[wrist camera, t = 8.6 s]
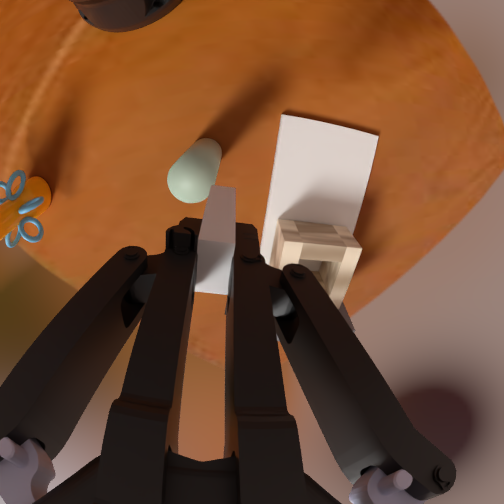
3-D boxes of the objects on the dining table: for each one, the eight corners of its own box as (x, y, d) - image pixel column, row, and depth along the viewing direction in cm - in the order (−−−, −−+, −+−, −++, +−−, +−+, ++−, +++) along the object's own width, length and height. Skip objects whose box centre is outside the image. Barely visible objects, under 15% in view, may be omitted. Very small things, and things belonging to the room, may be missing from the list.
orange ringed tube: (56, 151, 29) (-14, 188, 17) (75, 215, 35) (19, 273, 22) (8, 173, 29) (-52, 212, 17) (26, 228, 35) (-24, 279, 22)
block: (277, 218, 36) (284, 241, 31) (346, 226, 37) (362, 248, 32) (266, 279, 41) (270, 307, 36) (328, 283, 42) (339, 309, 37)
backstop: (281, 114, 30) (301, 120, 21) (375, 135, 31) (422, 153, 22) (253, 288, 43) (258, 340, 34) (330, 292, 45) (350, 340, 35)
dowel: (190, 137, 31) (168, 156, 20) (223, 139, 31) (216, 158, 21) (188, 168, 33) (167, 201, 23) (220, 170, 33) (213, 204, 23)
